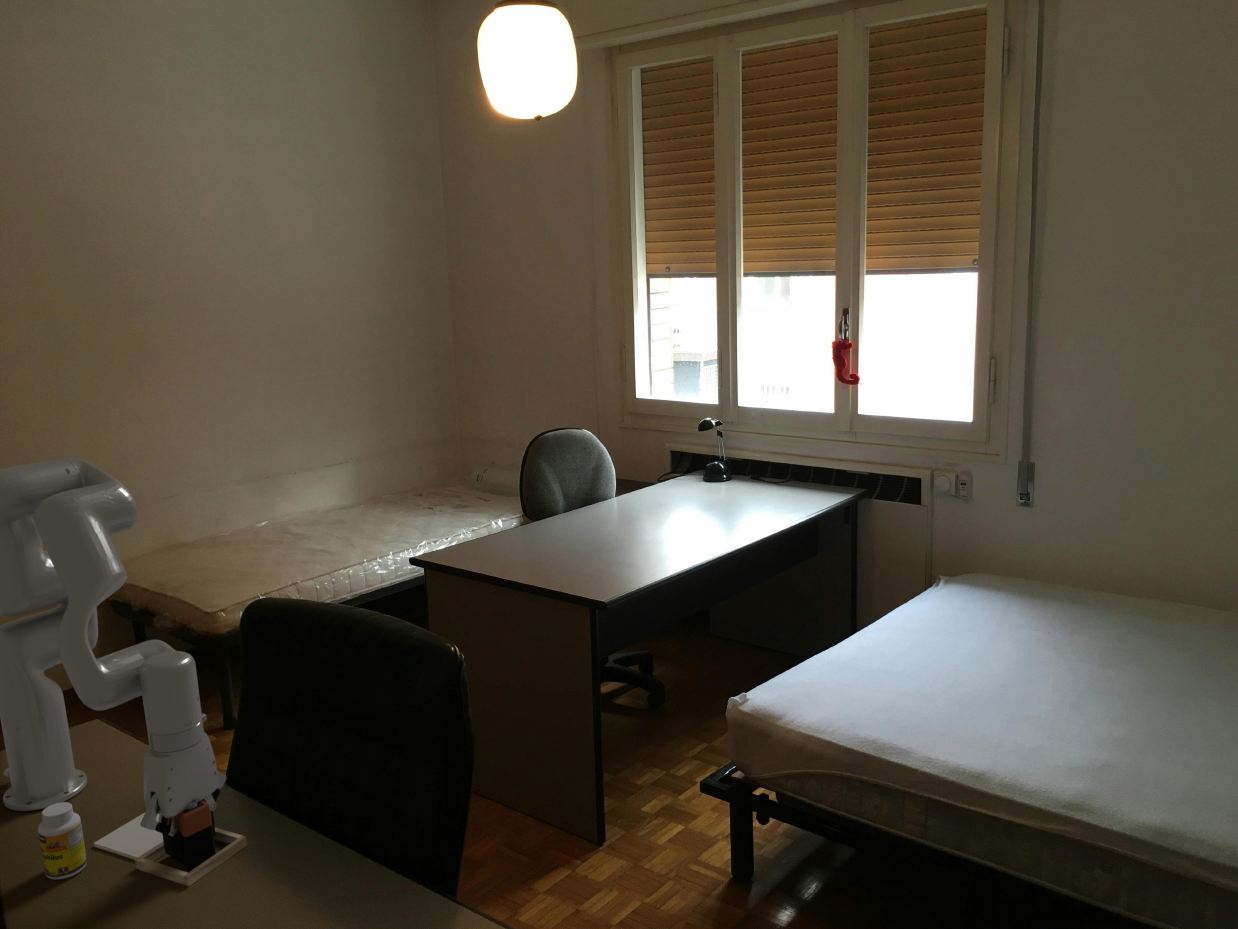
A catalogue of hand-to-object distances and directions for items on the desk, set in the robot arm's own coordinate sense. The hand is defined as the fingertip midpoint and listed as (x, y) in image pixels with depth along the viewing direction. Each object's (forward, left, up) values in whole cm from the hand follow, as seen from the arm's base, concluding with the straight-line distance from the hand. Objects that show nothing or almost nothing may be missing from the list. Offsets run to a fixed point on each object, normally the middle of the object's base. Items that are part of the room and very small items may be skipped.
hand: (191, 843), depth 148 cm
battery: (0, 0, -3) cm, 3 cm away
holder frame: (0, 0, -2) cm, 2 cm away
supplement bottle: (-15, -10, -3) cm, 18 cm away
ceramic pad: (-12, +1, -2) cm, 12 cm away
